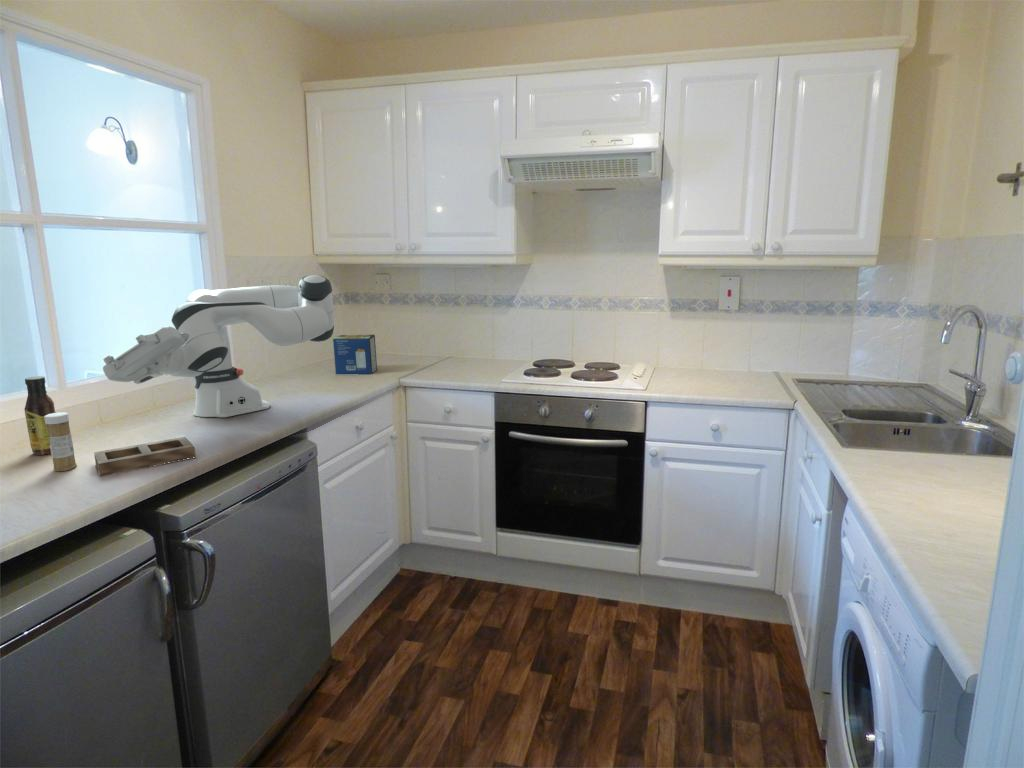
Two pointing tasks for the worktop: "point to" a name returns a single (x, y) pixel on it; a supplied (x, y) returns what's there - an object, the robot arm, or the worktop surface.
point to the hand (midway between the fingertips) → (122, 349)
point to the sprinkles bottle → (60, 441)
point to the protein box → (355, 354)
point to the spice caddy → (143, 455)
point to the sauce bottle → (38, 414)
